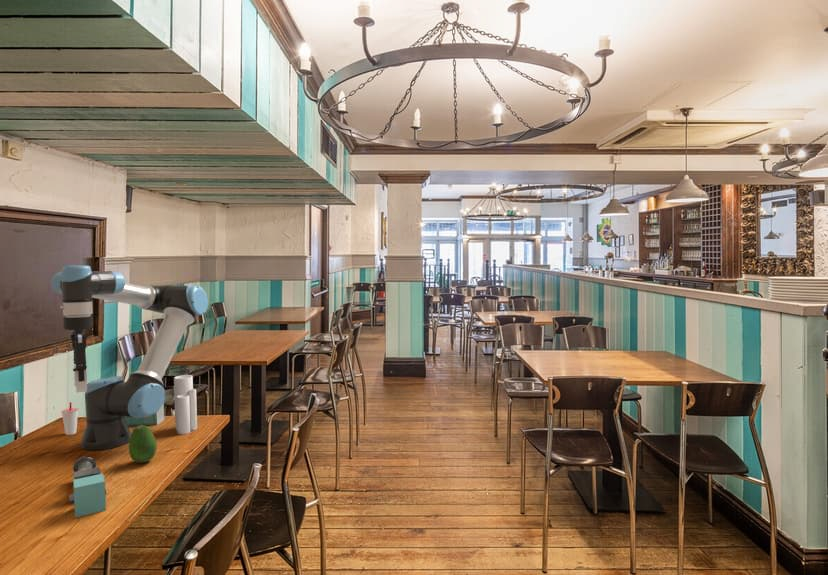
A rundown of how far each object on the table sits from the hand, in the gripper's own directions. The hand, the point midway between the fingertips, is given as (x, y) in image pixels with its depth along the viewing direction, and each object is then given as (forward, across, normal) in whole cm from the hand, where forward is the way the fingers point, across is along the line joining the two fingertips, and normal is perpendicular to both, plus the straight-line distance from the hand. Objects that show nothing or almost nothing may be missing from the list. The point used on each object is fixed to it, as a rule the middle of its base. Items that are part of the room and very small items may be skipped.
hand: (80, 388), depth 156 cm
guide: (+26, +21, 0) cm, 33 cm away
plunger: (+25, +16, 0) cm, 29 cm away
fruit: (+26, +4, +16) cm, 31 cm away
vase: (+26, -23, +34) cm, 49 cm away
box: (+26, -42, +22) cm, 54 cm away
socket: (+26, +31, 0) cm, 40 cm away
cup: (+26, -44, -2) cm, 51 cm away
